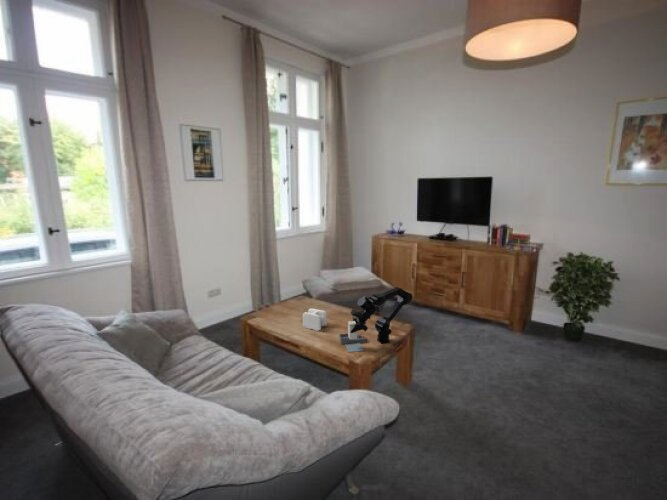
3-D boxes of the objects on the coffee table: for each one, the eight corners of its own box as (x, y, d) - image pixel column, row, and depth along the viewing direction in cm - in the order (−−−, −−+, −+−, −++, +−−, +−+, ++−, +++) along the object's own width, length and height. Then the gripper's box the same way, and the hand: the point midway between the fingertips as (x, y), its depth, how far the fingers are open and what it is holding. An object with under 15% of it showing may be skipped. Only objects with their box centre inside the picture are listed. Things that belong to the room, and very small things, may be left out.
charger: (355, 335, 220) (355, 320, 218) (356, 338, 216) (356, 323, 214) (348, 336, 219) (348, 321, 217) (349, 339, 215) (349, 324, 213)
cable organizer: (301, 327, 248) (301, 312, 246) (310, 322, 257) (309, 307, 255) (319, 332, 241) (319, 316, 239) (327, 326, 250) (327, 310, 248)
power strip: (363, 337, 232) (363, 332, 231) (365, 342, 226) (365, 336, 225) (339, 339, 229) (339, 334, 228) (341, 344, 223) (341, 338, 222)
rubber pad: (360, 343, 224) (360, 343, 224) (363, 350, 215) (363, 350, 215) (345, 344, 222) (345, 344, 222) (348, 352, 213) (348, 351, 213)
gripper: (355, 299, 223) (338, 317, 223) (362, 310, 205) (344, 329, 205) (367, 310, 226) (350, 327, 226) (375, 321, 208) (357, 340, 208)
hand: (350, 330), depth 216 cm, fingers closed on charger, 4 cm apart
